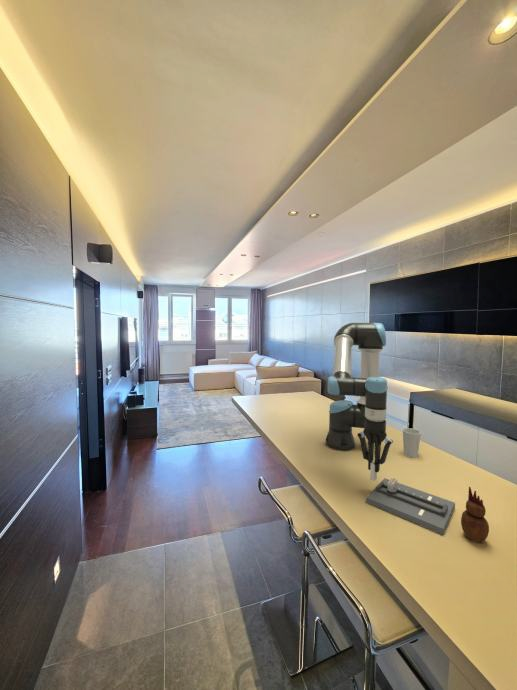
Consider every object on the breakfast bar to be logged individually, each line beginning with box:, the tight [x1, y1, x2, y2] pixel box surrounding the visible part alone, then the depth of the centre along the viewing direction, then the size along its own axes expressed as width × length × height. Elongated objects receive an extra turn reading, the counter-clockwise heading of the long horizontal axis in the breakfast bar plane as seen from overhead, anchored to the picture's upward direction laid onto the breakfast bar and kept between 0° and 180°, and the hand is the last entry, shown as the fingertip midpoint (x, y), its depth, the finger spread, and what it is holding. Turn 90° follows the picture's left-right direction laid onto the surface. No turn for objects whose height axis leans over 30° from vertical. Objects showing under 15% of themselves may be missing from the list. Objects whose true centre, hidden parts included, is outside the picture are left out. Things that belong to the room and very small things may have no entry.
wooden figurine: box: [460, 486, 490, 544], centre depth 88 cm, size 7×6×15 cm
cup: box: [402, 427, 422, 459], centre depth 144 cm, size 8×8×12 cm
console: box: [365, 478, 456, 536], centre depth 104 cm, size 24×18×4 cm
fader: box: [387, 477, 398, 495], centre depth 108 cm, size 3×4×5 cm, turn 137°
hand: (373, 479), depth 113 cm, fingers closed
